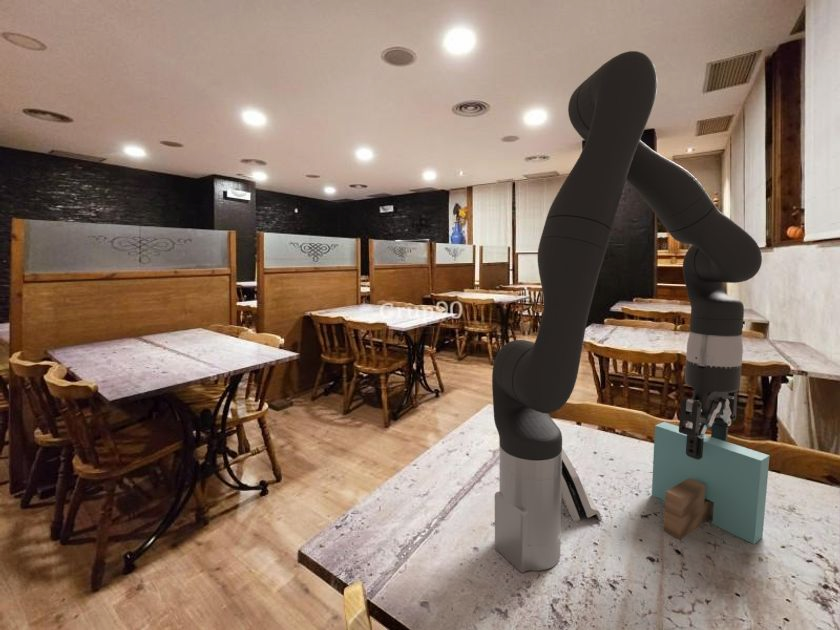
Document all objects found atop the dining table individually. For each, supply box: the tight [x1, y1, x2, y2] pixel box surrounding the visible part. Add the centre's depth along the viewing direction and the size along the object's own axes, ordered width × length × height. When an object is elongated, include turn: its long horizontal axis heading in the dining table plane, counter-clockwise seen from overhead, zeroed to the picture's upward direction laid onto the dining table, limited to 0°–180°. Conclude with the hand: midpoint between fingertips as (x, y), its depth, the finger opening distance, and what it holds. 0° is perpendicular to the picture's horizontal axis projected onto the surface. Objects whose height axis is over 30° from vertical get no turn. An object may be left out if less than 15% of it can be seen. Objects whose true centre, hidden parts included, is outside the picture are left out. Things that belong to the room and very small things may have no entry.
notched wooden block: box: [663, 478, 714, 540], centre depth 69 cm, size 20×2×7 cm, turn 120°
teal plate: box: [651, 421, 770, 545], centre depth 69 cm, size 16×3×14 cm, turn 30°
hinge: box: [561, 447, 603, 522], centre depth 76 cm, size 17×5×10 cm, turn 176°
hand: (706, 450), depth 68 cm, fingers open, 8 cm apart
